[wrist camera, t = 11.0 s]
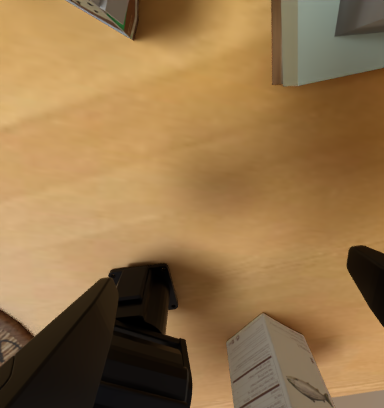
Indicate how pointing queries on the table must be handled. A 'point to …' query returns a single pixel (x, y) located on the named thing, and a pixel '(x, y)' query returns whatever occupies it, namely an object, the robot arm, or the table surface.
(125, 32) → the food container
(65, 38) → the table surface
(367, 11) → the grey cube
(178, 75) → the table surface
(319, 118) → the table surface
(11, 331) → the trivet
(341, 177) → the table surface
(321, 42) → the sage slab
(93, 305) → the robot arm
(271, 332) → the supplement box
